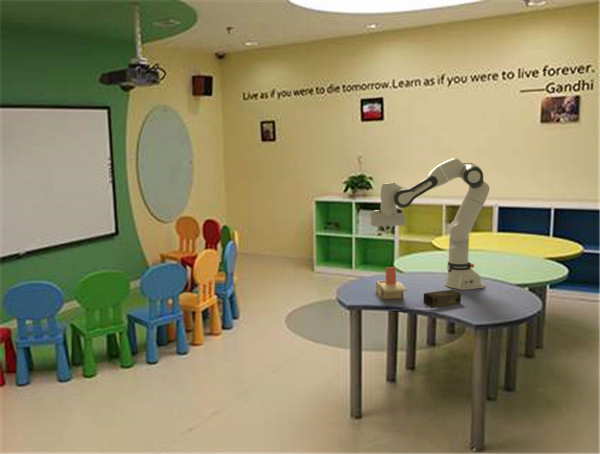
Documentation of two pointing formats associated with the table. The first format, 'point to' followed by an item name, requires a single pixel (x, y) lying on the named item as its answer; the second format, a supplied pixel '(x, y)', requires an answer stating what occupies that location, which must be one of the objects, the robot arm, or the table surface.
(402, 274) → the table surface
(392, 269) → the lid
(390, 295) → the mailer box
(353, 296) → the table surface
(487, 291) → the table surface
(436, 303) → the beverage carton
